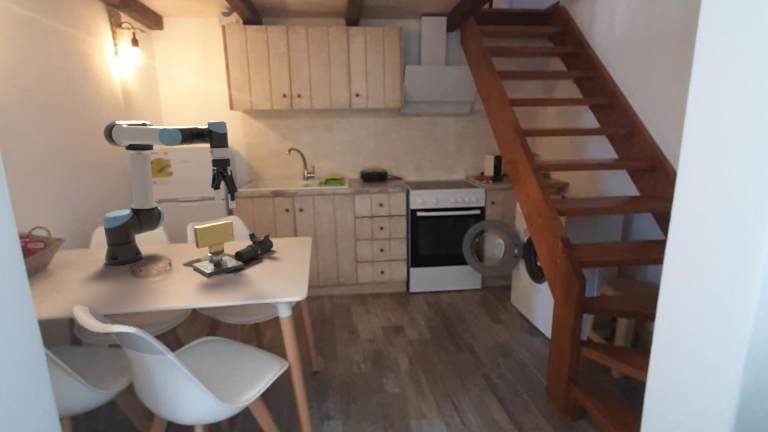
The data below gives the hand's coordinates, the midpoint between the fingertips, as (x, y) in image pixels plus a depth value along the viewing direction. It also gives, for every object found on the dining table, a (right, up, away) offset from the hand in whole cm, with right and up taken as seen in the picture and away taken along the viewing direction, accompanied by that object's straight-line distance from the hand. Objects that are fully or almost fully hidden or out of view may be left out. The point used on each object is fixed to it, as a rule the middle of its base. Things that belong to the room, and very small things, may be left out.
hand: (225, 206), depth 184 cm
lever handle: (-4, -20, 0) cm, 21 cm away
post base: (-4, -28, +2) cm, 28 cm away
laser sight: (+7, -24, +19) cm, 32 cm away
